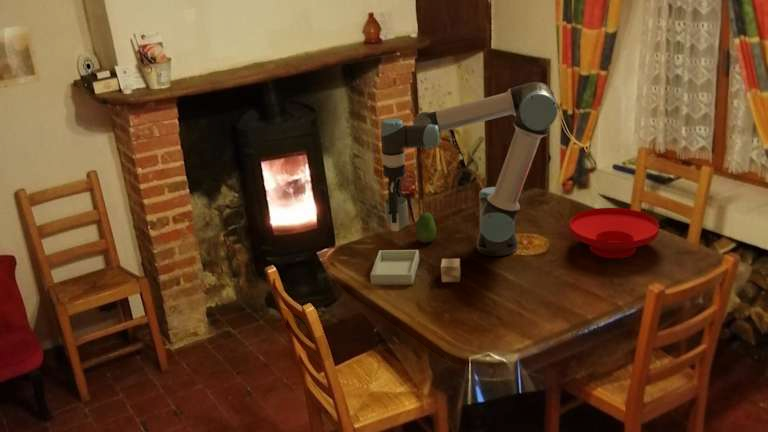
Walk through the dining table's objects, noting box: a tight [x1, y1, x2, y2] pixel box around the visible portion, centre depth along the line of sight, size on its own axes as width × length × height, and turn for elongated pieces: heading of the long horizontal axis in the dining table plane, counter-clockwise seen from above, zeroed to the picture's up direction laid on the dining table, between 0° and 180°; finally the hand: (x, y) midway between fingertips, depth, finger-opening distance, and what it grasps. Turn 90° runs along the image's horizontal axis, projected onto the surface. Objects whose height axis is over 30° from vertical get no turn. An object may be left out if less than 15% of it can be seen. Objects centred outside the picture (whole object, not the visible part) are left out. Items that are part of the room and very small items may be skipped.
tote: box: [369, 249, 420, 286], centre depth 290 cm, size 14×19×4 cm
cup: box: [384, 196, 408, 230], centre depth 286 cm, size 8×8×10 cm
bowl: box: [568, 207, 660, 259], centre depth 291 cm, size 30×30×10 cm
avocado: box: [414, 212, 437, 244], centre depth 310 cm, size 8×8×12 cm
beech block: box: [440, 258, 462, 283], centre depth 281 cm, size 6×6×6 cm
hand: (397, 225), depth 288 cm, fingers closed on cup, 8 cm apart
